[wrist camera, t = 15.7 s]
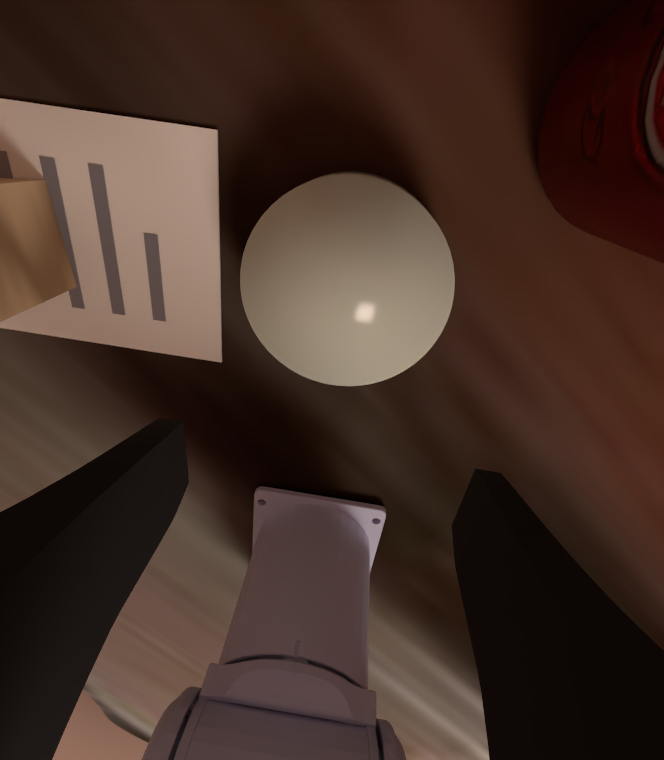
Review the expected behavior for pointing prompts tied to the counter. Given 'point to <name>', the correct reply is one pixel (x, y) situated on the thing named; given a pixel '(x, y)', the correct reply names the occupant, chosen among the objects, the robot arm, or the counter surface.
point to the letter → (125, 226)
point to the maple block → (30, 248)
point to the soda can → (611, 132)
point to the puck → (347, 279)
